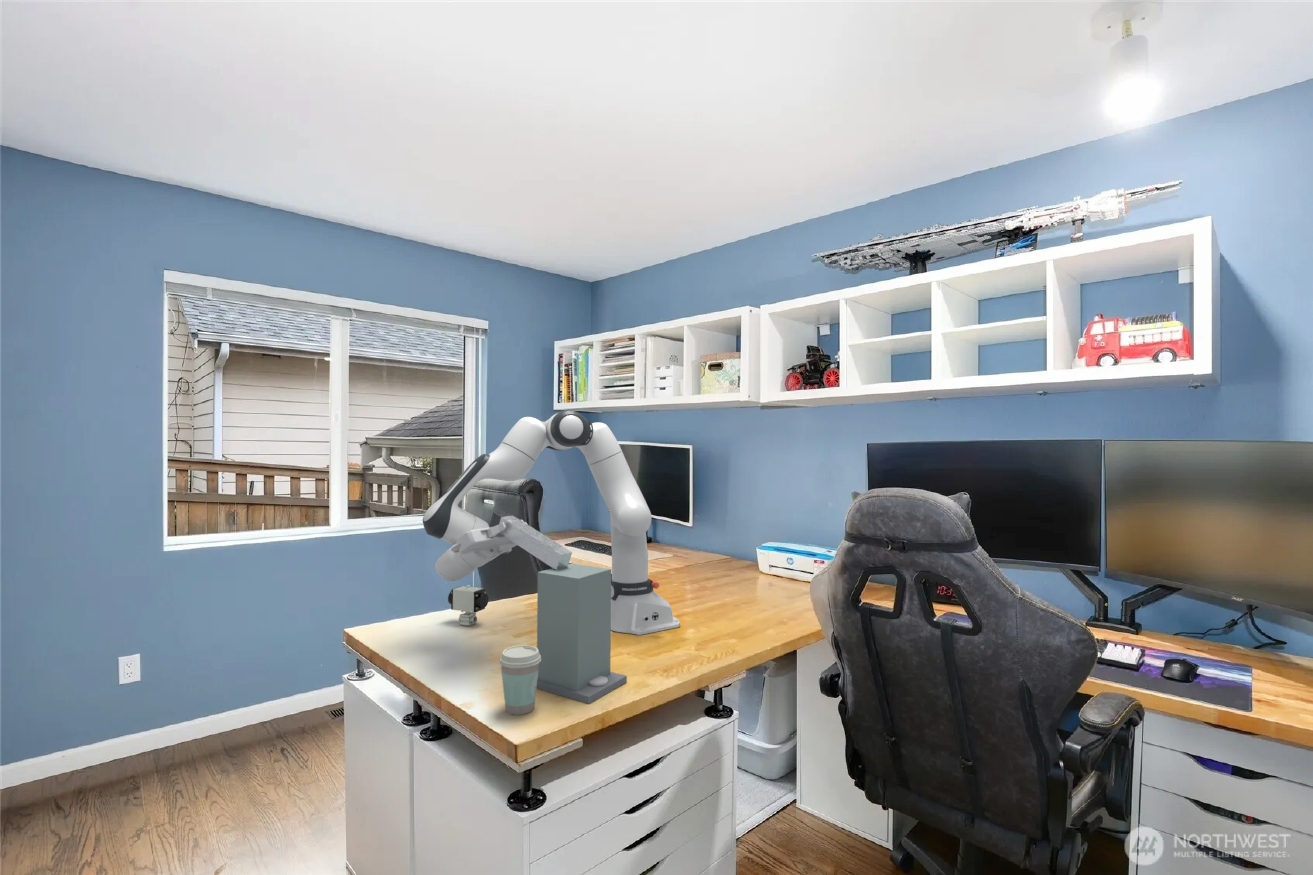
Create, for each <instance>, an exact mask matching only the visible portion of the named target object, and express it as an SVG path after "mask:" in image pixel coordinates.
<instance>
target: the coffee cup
mask: <svg viewBox="0 0 1313 875" xmlns="http://www.w3.org/2000/svg"><path fill="white" fill-rule="evenodd" d="M540 661H541V655H540V654H539V650H538V648H537V646H531V645H525V644H524V645H514V646H510V647H507V648H505V649H504V650H503V651H502V652H501V655H500V658H499V662H498V663H499V665H500V668H501V677H502V679H501V680H502V686H503V698H504V707H505V712H507V714H509V715H515V716H516V715H517V716H522V715H525V714H529V713H532V711H534V709H535V704H536V696H537V680H538V671H539V662H540Z"/></svg>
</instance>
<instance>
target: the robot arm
mask: <svg viewBox="0 0 1313 875" xmlns="http://www.w3.org/2000/svg"><path fill="white" fill-rule="evenodd" d="M546 448H547V449H551V450H554V451H566V450H570V449H573V448H577V449H579V451H580V452H581V453H582V454H583V456H584V457H585V461H586V462H587V465H588V467H589V469H590V472H591V474H592V476H593V479H594V480H595V481H594V482H595V483H596V486H597V489H598V491H599V492H600V494H601V497H602V499H603V501H604V503H605V505H606V508H607V510H608V513H609V515H610V540H611V631H613V632H618V633H624V634H625V633H627V634H633V635H638V636H642V635H646V634H652V633H657V632H661V631H667V630H671V629H677V628H680V626H681V623H680V620H679V618H677V617H676V616H673V609H672V606H671V605H670V603H669V601H668V600H666V599H665V598H664V597H662V596H661V595H660V594H658V592H656V591H655V590H654V589H659V587H660V582H658V581H656V580H652V579H650V578H649V551H648V543H647V540H648V539H647V531H648V530H649V529H650V527H651V524H652V513H651V510H650V507H649V506H648V504H647V501H646V498H645V497H644V495H643V493H642V491H641V489H640V487H639V485H638V483H637V481H636V479H635V477H634V476H633V472H632V470H631V469H630V466H629V464H628V461H627V459H626V458H625V454H624V453H623V450H622V447H621V445H620V444H619V441H618V440H617V438H616V436H615V435H614V433H613V432H612V430H611V429H610V427H609V426H608V424H606V423H603V422H599V421H598V422H591V421H590V420H588V419H587V418H585V417H584V416H583V415H582V414H581V413H580V412H577V411H575V410H571V409H570V410H569V409H566V410H565V409H564V410H561V411H559V412H557V413H555V414H553V415H551V416H550V418H548V419H546V420H545V421H542V420H539V419H538V418H536V417H532V416H525V417H522V418H520V419H519V420H518V421H517V422H516V423H515V424H514V425H513V426H512V427H511V429H510V430H508V433H507V434H506V435H505V436H504V437H503V440H501V442H500V444H499V445H498V446H497V448H496V449H494V450H493V451H492V452H490V453H488V454H487V453H483V454H481V455H479V456H478V457H477V458H475V459H474V460H473V461H472V462H471V463H470V464H469V465H468V466H467V467H466V469H465V470H463V472H462V473H461V474H460V475H459V476H458V477H457V478H456V480H455V481H454V482H452V484H451V485H450V486H449V487H448V489H447V490H446V491H444V493H443V494H442V495H440V497H439V498H437V499H436V500H435V501H434V502H433V503H432V504H431V505H430V506H429V507H428V509H427V510H426V511H425V513H424V515H423V516H422V524H423V528H424V530H425V533H426V534H427V535H429V536H431V537H433V538H437V539H438V540H442V541H444V542H446V543H448V544H450V545H452V546H451V547H449V548H448V549H447V550H446V551H445V552H443V553H442V554H441V555H440V556H439V557H438V559H436V561H435V566H434V567H435V572H436V574H438V576H440V578H442V579H443V580H445V581H447V582H457V581H459V580H460V581H461V580H462V579H464V578H465V577H468V576H469V575H471V574H472V573H474V572H475V571H476V570H477V568H480V567H483V566H484V565H485V564H487V563H489V562H491V561H493V560H494V559H495V558H498V557H501V556H504V555H506V554H509V553H510V552H512V550H513V549H512V548H514V547H516V546H518V545H517V544H515V543H514V542H512V541H511V540H509V539H507V538H506V537H504V536H503V535H501V534H500V532H502V531H505V530H506V529H508V528H509V526H508V523H507V522H502V523H500V524H499V525H496V526H494V527H489V526H490V524H489V522H487V521H485V520H484V519H482V518H480V517H478V516H477V515H475V514H472V513H470V512H469V511H467V510H465V509H464V508H462V507H459V504H460V503H461V501H462V500H463V499H464V498H465V497H466V496H467V494H469V492H470V491H471V490H472V489H473V487H474V486H475V485H476V484H477V483H479V482H480V481H483V480H488V479H489V480H497V481H505V482H514V481H518V480H521V479H524V478H525V477H526V476H527V475H528V473H529V472H530V471H531V469H532V468H533V467H534V465H535V463H536V461H537V460H538V457H539V456H540V454H541V453H542V452H543V450H544V449H546ZM520 520H521V521H523V522H524V523H526V524H527V525H529V524H528V522H526V521H524V520H523V519H520Z"/></svg>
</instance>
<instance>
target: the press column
mask: <svg viewBox="0 0 1313 875" xmlns="http://www.w3.org/2000/svg"><path fill="white" fill-rule="evenodd" d="M611 579H612V568H604V567H599V566H592V565H585V564H577V563H569V564H568V567H567V568H563V569H559V570H555V569H554V568H552V567H551V568H549V569H545V570H541V571H537V601H536V602H537V605H536V606H537V611H536V612H537V617H536V620H537V622H536V626H537V627H536V634H537V635H536V638H537V639H536V648H538V650H539V654H540V655H541V661H540V662H539V671H538V680H537V688H536V690H537V689H538V690H541V691H544V692H548V693H550V694H554V695H558V696H560V697H564V698H568V699H571V700H575V701H578V702H581V703H584V704H588V705H590V704H592V703H593V702H595V701H597V700H598V698H599V699H600V698H602V697H604V696H605V695H607V694H610V692H612V691H614V690H616V689H617V688H619V687H621V686H623V685H625V684H626V683H627V682H628V676H627V675H625V674H622V673H617V672H615V671H614V672H613V671H611V648H612V647H611V641H612V640H611V639H612V637H611V633H612V630H611Z"/></svg>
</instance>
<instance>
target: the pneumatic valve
mask: <svg viewBox="0 0 1313 875" xmlns="http://www.w3.org/2000/svg"><path fill="white" fill-rule="evenodd" d="M447 602H448V604H449V605H450V607H451V608H450V609H451V610H452V611H458V612H459V611H460V614H459V616H458V622H459V623H458V624H459V625H460V626H464V627H471V626H472V625H475V624H477V622H478V617H477V613H478V612H481V611H483V610H485V608H486V607H487V606H488V604H489V595H488V594H487V592H486V588H483V587H477V586H475V587H474V586H471V585H470V584H467V585H466V586H464V585H460V586H457V587H455V588H451V590H450V591H449V594H447Z"/></svg>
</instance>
